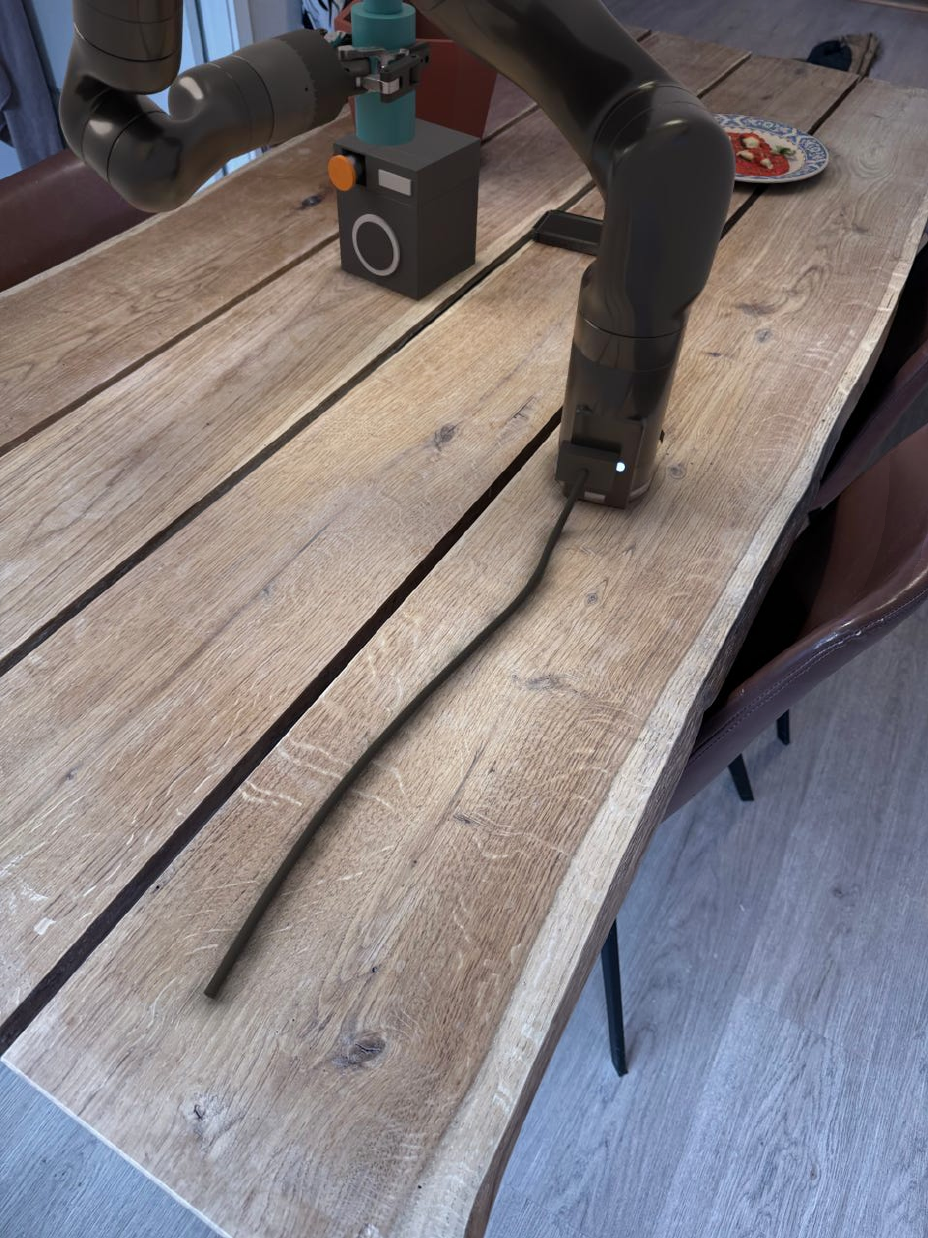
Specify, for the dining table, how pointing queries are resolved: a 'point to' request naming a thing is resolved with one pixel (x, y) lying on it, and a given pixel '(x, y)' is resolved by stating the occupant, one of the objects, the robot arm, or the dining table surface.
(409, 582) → the dining table surface
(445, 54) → the bucket
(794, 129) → the ceramic plate
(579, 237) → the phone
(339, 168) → the power button
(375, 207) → the washer
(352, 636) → the dining table surface
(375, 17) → the detergent bottle
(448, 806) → the dining table surface
